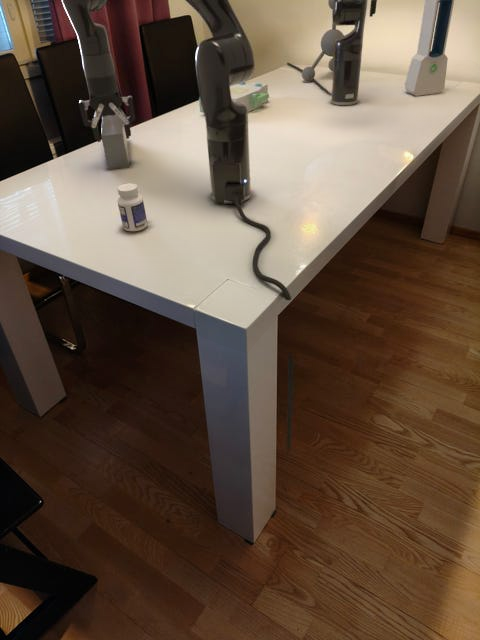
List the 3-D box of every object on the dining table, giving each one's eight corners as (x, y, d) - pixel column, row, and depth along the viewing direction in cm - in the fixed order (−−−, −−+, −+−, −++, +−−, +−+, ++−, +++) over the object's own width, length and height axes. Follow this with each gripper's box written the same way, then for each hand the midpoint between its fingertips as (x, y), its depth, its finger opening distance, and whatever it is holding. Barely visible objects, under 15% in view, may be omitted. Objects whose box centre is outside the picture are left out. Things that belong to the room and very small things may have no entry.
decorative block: (232, 78, 185) (277, 83, 175) (233, 96, 189) (277, 102, 179) (189, 94, 169) (235, 100, 159) (191, 113, 173) (236, 121, 163)
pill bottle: (149, 220, 107) (142, 181, 102) (146, 231, 103) (138, 191, 98) (125, 221, 107) (116, 182, 102) (121, 232, 103) (112, 193, 98)
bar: (129, 167, 134) (122, 133, 129) (108, 169, 134) (101, 135, 128) (127, 141, 152) (121, 110, 147) (109, 143, 152) (102, 112, 146)
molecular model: (291, 76, 212) (292, -6, 194) (337, 70, 217) (342, -11, 198) (313, 87, 194) (316, -2, 176) (362, 81, 199) (371, -7, 180)
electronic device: (413, 96, 177) (429, -3, 159) (402, 91, 183) (416, -4, 164) (444, 92, 179) (462, -6, 161) (432, 88, 185) (449, -7, 167)
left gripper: (69, 78, 119) (86, 147, 129) (129, 73, 120) (140, 140, 131) (72, 72, 124) (87, 138, 134) (128, 67, 126) (139, 132, 136)
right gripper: (388, -59, 127) (380, 14, 137) (333, -56, 129) (329, 16, 139) (391, -59, 121) (382, 18, 131) (333, -55, 123) (329, 19, 133)
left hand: (113, 139), depth 132 cm, fingers open, 7 cm apart
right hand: (355, 17), depth 135 cm, fingers open, 8 cm apart
